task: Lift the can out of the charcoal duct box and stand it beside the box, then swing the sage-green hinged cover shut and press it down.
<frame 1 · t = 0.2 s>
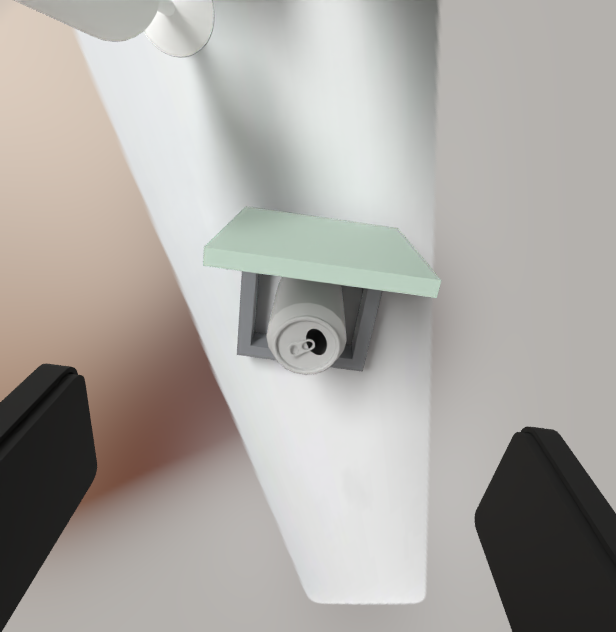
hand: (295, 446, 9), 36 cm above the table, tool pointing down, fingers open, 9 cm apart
duct box: (310, 291, 47), on the table
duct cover: (321, 242, 33), point 11 cm above the table, hinge at 95.0°
champagne flute: (175, 11, 35), on the table
can: (310, 290, 48), resting in duct box
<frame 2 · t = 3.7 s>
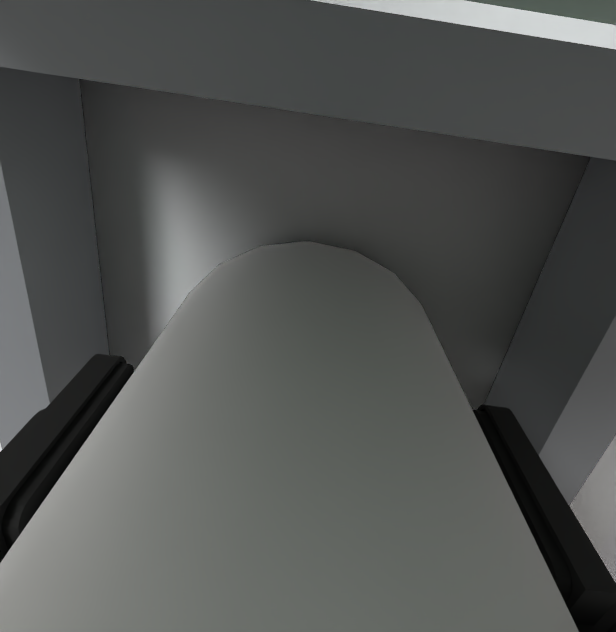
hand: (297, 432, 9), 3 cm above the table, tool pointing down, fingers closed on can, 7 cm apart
duct box: (304, 349, 13), on the table
can: (303, 347, 13), resting in duct box, touching gripper
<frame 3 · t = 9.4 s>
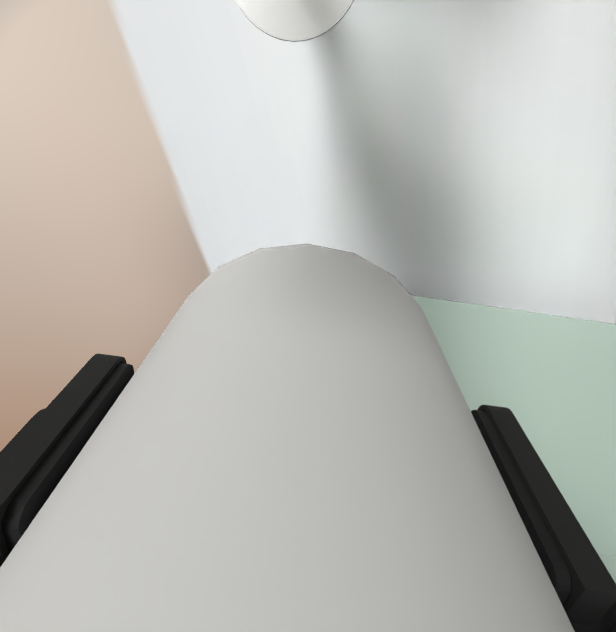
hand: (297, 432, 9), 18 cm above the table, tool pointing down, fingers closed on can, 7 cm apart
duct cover: (588, 398, 17), point 11 cm above the table, hinge at 94.1°
can: (303, 349, 13), point 14 cm above the table, touching gripper
when the fingers open (5 cm above the table, at t = 12.2 s): can drops 2 cm, on the table.
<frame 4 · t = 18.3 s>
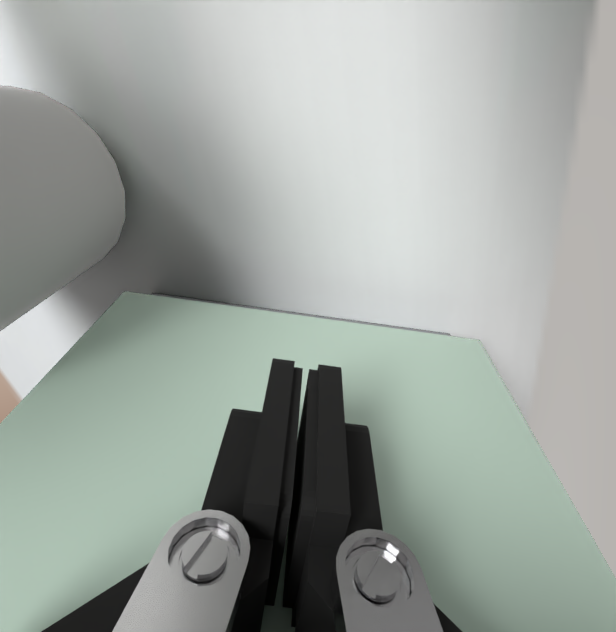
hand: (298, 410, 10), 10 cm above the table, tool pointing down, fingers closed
duct box: (285, 432, 24), on the table
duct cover: (286, 492, 11), point 11 cm above the table, hinge at 87.2°, touching gripper
can: (52, 183, 18), on the table
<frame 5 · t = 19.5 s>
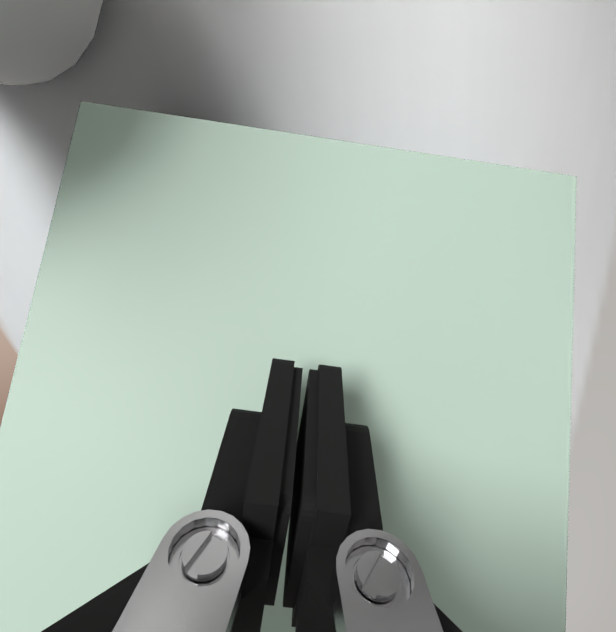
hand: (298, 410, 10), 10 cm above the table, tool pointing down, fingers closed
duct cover: (297, 409, 12), point 8 cm above the table, hinge at 35.6°
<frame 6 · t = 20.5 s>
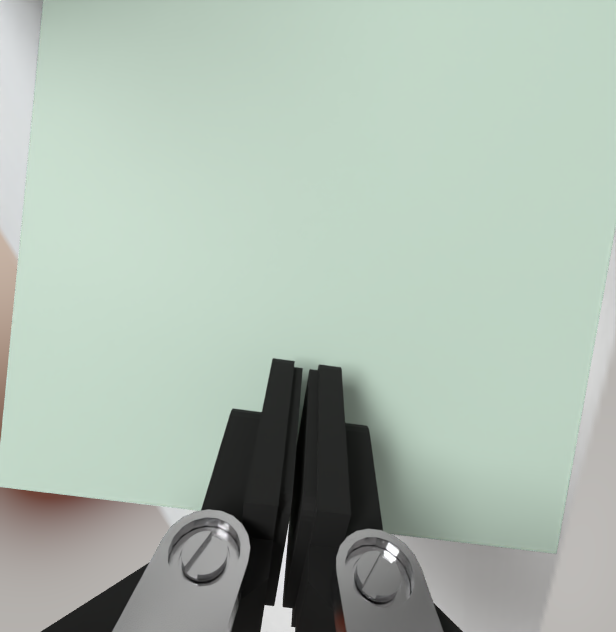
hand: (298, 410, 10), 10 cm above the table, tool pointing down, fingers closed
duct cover: (323, 223, 11), point 7 cm above the table, hinge at 24.2°, touching gripper
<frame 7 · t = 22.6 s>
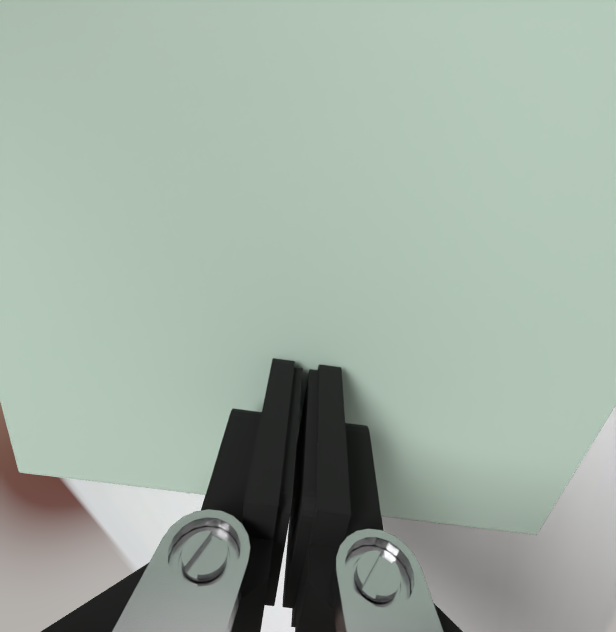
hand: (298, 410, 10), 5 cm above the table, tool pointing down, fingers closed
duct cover: (326, 226, 9), point 4 cm above the table, hinge at 2.0°, touching gripper
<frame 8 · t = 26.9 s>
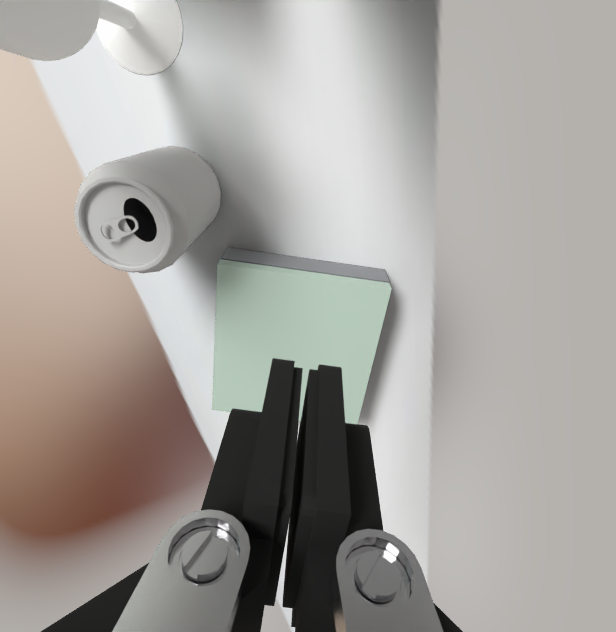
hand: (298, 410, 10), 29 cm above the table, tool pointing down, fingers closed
duct box: (296, 330, 43), on the table
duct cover: (294, 351, 39), point 4 cm above the table, hinge at -0.1°
champagne flute: (139, 23, 31), on the table
can: (182, 189, 37), on the table
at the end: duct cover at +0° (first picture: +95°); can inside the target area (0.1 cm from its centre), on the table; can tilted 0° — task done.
